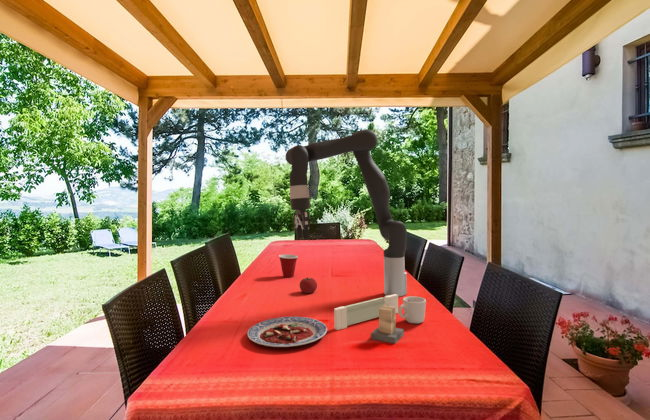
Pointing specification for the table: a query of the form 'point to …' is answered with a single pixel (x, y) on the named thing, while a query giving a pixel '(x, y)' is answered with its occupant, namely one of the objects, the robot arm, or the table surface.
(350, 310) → the gate
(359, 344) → the table surface
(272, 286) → the table surface
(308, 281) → the tomato
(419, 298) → the cup
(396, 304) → the wooden blocks
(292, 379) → the table surface
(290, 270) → the plastic cup
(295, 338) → the ceramic plate
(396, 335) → the wooden block on base
